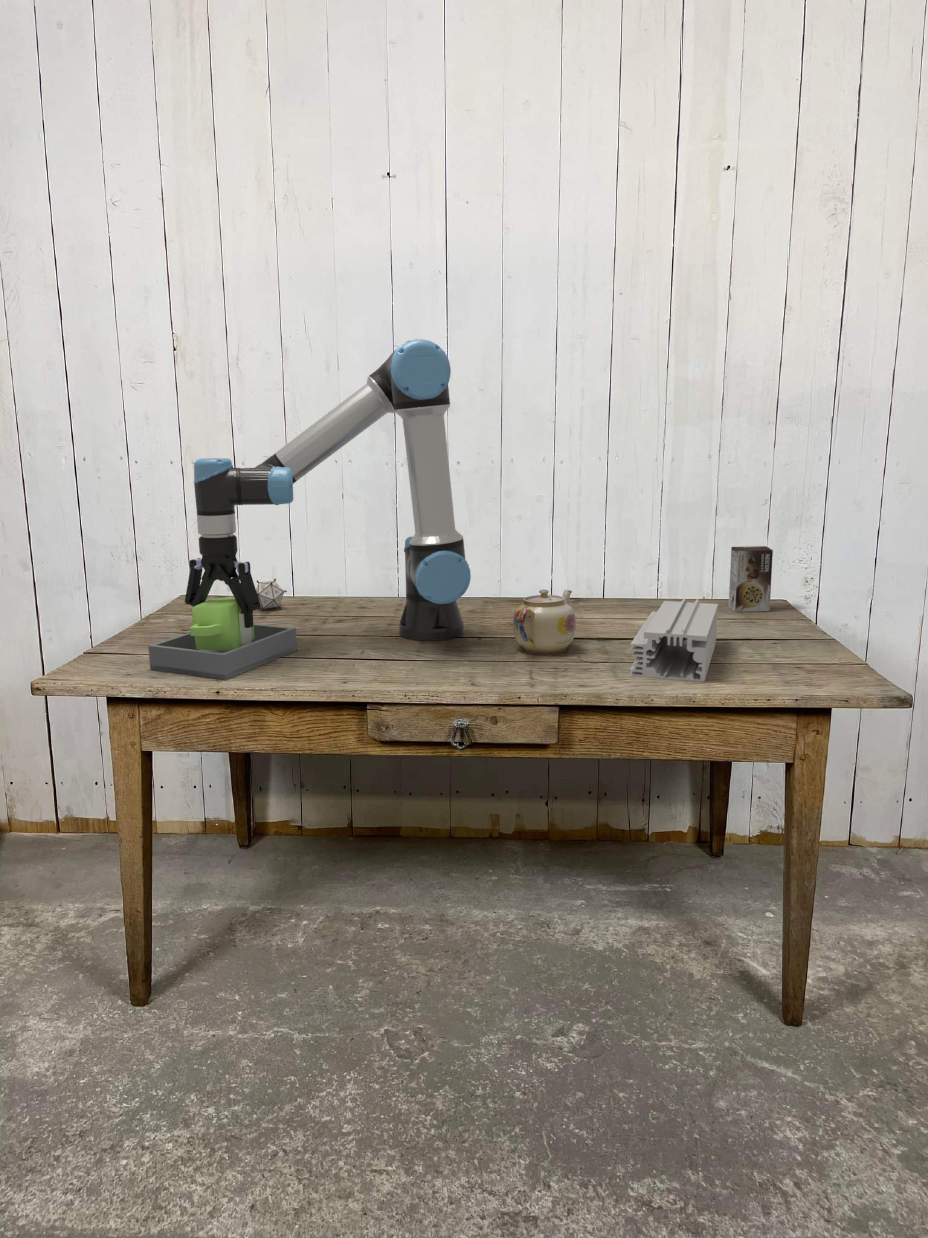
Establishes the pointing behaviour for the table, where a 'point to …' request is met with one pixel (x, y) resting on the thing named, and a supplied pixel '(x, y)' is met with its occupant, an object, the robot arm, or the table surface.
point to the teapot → (545, 623)
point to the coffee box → (750, 579)
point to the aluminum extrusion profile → (676, 641)
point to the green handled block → (217, 625)
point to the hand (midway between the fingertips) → (224, 640)
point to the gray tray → (222, 653)
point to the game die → (269, 594)
